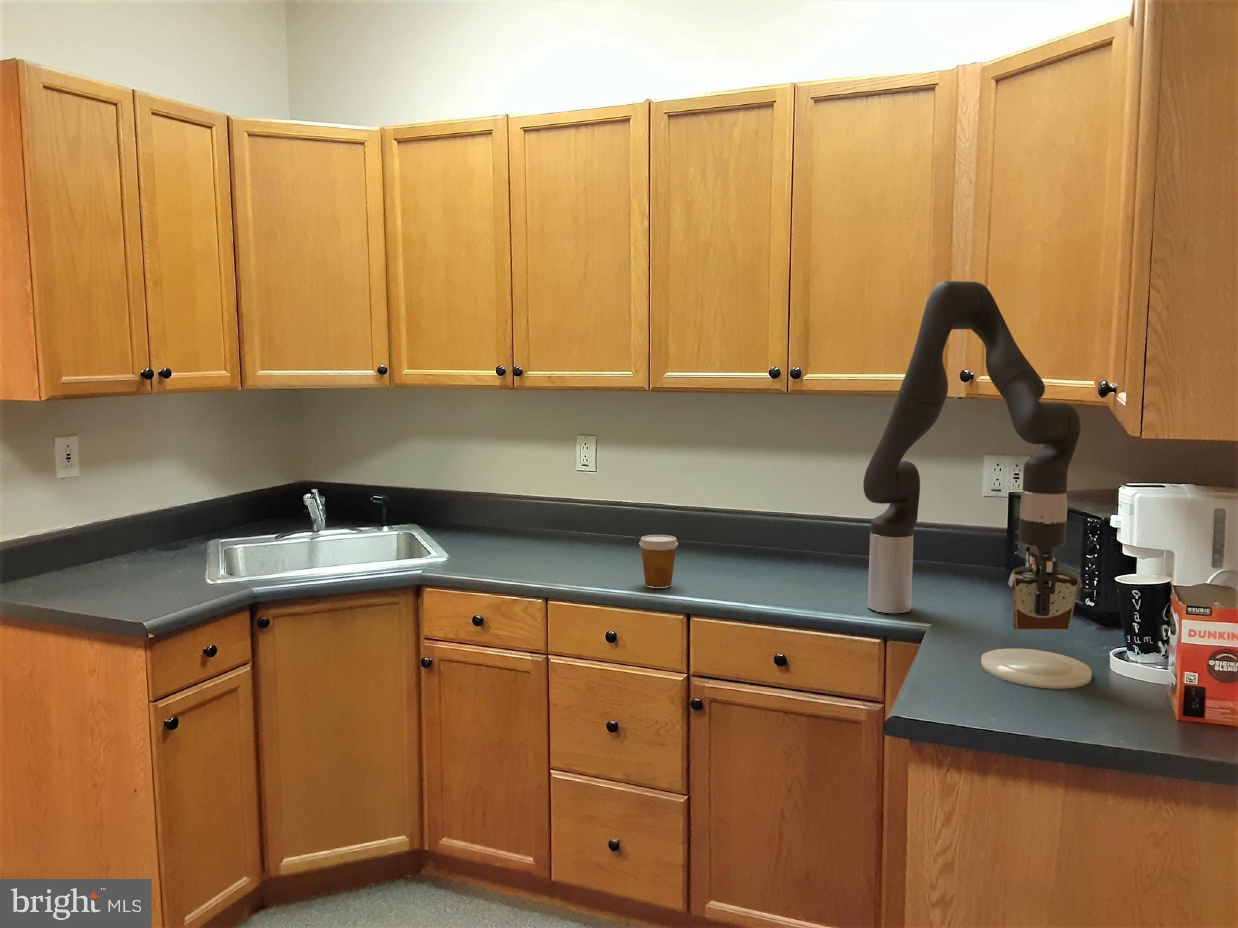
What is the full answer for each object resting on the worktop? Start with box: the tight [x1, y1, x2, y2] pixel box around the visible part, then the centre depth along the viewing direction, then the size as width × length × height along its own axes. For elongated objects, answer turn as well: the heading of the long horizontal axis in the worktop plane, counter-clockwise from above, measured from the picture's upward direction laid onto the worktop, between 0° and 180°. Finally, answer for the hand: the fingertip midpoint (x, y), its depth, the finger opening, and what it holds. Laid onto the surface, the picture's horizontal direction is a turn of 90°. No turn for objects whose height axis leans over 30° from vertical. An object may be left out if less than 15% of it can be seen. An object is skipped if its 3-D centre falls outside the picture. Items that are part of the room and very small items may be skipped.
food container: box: [1008, 566, 1083, 631], centre depth 162 cm, size 12×6×10 cm, turn 90°
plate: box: [980, 648, 1093, 690], centre depth 163 cm, size 18×18×1 cm
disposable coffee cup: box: [638, 534, 679, 587], centre depth 223 cm, size 10×10×12 cm
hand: (1037, 610), depth 162 cm, fingers closed on food container, 5 cm apart
